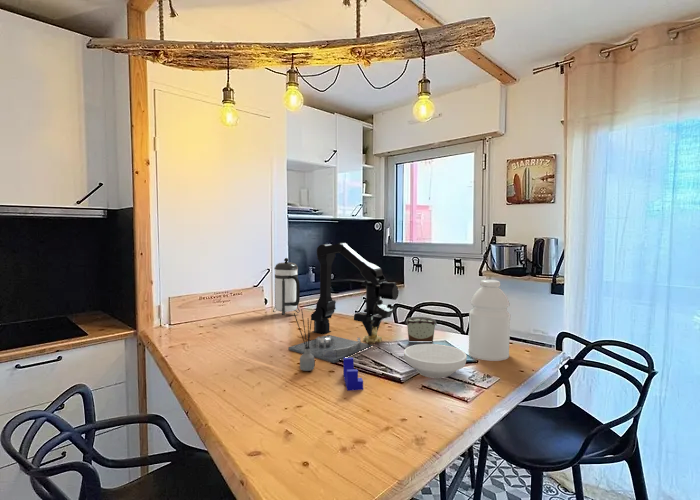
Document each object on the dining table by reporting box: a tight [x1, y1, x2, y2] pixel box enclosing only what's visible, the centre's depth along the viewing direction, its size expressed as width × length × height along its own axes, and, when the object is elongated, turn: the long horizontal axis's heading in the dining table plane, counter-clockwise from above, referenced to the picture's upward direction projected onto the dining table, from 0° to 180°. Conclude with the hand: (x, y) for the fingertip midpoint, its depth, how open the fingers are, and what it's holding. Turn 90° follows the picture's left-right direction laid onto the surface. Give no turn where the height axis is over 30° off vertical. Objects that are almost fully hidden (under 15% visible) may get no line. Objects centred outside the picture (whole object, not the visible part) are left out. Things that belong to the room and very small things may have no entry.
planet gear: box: [362, 325, 383, 344], centre depth 162 cm, size 8×8×6 cm
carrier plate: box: [288, 334, 374, 364], centre depth 152 cm, size 23×23×4 cm
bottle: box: [467, 279, 511, 362], centre depth 142 cm, size 14×14×28 cm
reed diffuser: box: [293, 308, 316, 372], centre depth 128 cm, size 10×7×20 cm
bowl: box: [403, 343, 468, 379], centre depth 125 cm, size 20×20×7 cm
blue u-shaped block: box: [342, 356, 364, 392], centre depth 118 cm, size 12×4×6 cm, turn 6°
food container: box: [405, 316, 438, 343], centre depth 161 cm, size 12×6×10 cm, turn 84°
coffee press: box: [272, 257, 301, 316], centre depth 215 cm, size 17×16×30 cm
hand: (372, 334), depth 163 cm, fingers closed on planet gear, 4 cm apart
